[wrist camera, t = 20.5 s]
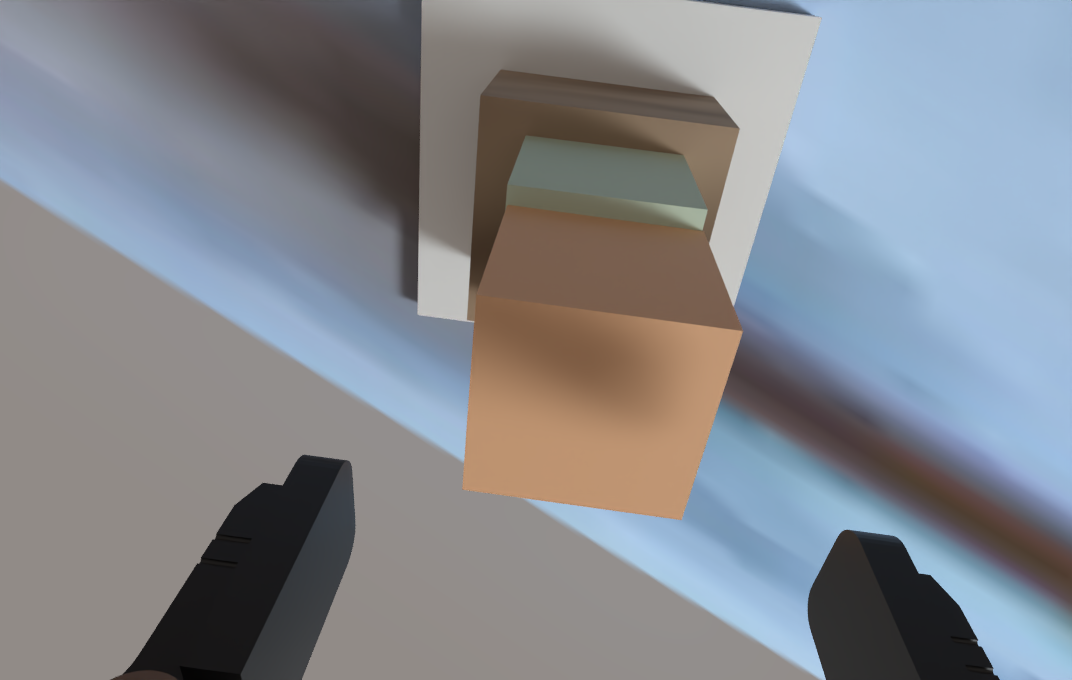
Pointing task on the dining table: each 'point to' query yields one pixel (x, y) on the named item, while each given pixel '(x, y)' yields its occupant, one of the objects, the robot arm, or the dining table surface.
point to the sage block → (606, 183)
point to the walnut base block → (589, 139)
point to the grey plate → (608, 57)
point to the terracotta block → (596, 362)
